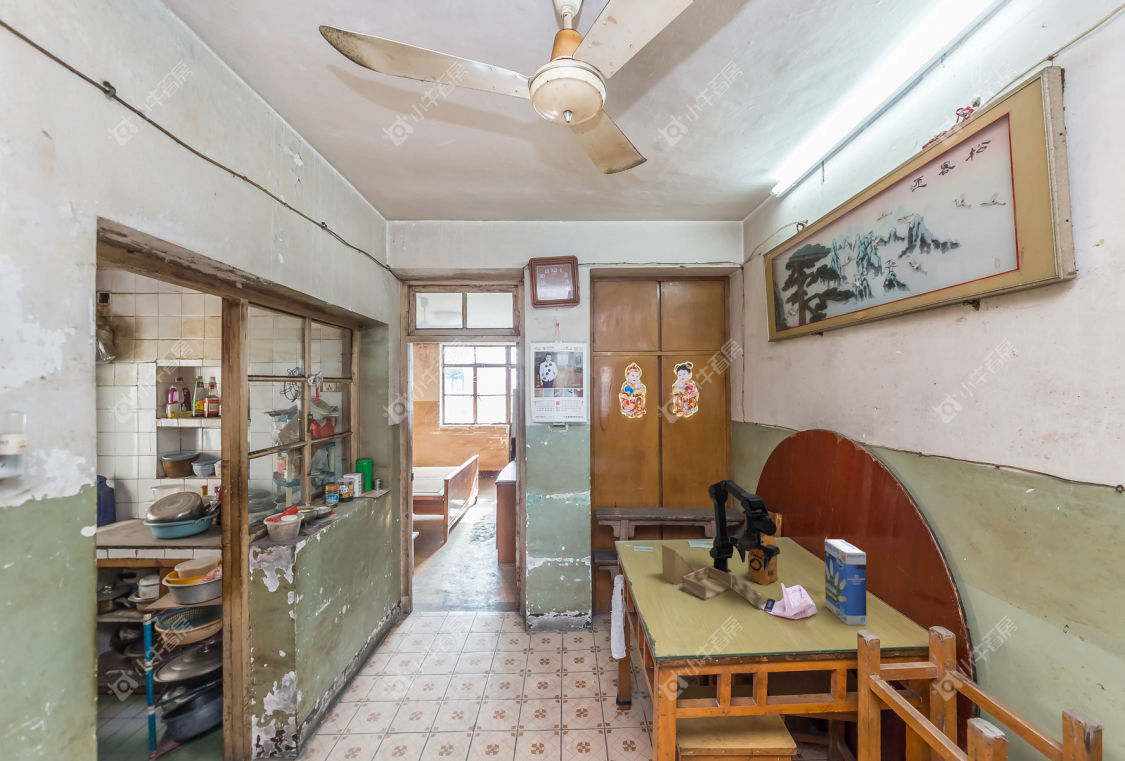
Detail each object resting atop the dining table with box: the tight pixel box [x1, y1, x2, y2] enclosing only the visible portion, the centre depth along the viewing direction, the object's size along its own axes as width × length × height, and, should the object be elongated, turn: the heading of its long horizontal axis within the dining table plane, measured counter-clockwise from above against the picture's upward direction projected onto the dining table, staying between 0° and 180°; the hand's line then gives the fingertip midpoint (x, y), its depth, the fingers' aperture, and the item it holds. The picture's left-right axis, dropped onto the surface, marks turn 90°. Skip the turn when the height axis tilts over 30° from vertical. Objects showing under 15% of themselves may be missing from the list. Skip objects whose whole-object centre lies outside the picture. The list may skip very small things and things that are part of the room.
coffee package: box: [747, 533, 778, 586], centre depth 186 cm, size 10×12×22 cm
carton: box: [681, 565, 732, 601], centre depth 178 cm, size 18×11×5 cm, turn 126°
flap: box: [731, 574, 762, 610], centre depth 169 cm, size 17×1×6 cm, turn 13°
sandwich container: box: [661, 544, 696, 586], centre depth 189 cm, size 9×15×15 cm, turn 119°
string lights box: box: [824, 538, 868, 626], centre depth 157 cm, size 13×8×26 cm, turn 178°
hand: (754, 566), depth 172 cm, fingers open, 9 cm apart
